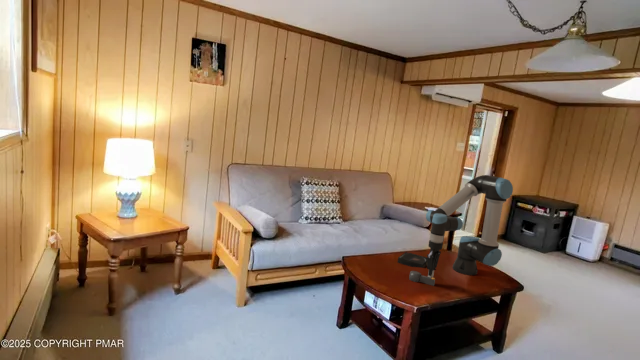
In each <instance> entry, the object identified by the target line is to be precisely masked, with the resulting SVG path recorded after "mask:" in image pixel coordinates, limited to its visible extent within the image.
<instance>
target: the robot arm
mask: <svg viewBox="0 0 640 360" xmlns="http://www.w3.org/2000/svg"><path fill="white" fill-rule="evenodd" d="M513 190H514V187H513V184H512V182H511V181H510V180H509V179H508V178H503V177H499V176H495V175H489V174H483V175H482V174H481V175H479V176H476V177H474V178H473V179H470V180H469V181H467V182H466V183H465V184H464V187H463V188H461V189H460V190H459V191H458V192H457V193H455V194H454V195H452V196H451V197H450V198H449V199H447V200H446V201H445V202H444V203H442V205H440V206H439V207H437V208H436V209H435V210H433V209H430V210H428V211H427V212H426V214H425V219H426V221H427V222H429V223H431V227H430V233H429V241H428V247H429V248H430V250H429V254H426V256H427V266H426V268H427V270H428V272H427V277H430V278H432V277H434V274H435V271H437V267H438V263H439V259H440V256H441V253H442V251H440V250H442V249H443V246H444V241H445V234H446V232H447V231H449V232H450V231H451V232H452V231H453V232H455V231H460V230H462V228H463V227H464V221H463V220H462V218H460V217H458V216H457V217H456V216H454V217H453V216H451V215H452V214H453V213H455V212H456V211H457V210H459V208H461V207H462V206H464V204H465V203H467V202H468V201H469V200H471V199H472V198H473V197H477V196H479V195H481V194H484V195H485V196H484V198H485V200H486V208H485V213H484V220H483V227H482V233H481V238H479V237H476V236H470V235H469V236H468V235H464V236H461V237H460V240H459V244H458V248H457V249H458V251H457V254H456V255H457V257H456V259H455V260H454V263H453V264H452V266H451V268H452V270H453V271H455V272H456V273H459V274H464V275H467V276H475V275H477V274H478V266H477V261H478V262H479V263H482V264H483V265H487V266H489V267H493V266H496V265H497V264H498V263H500V261H501V258H502V257H503V252H502V250H501V249H500V248H499V247H500V244H499V243H498V242H497V241H498V237H499V236H498V235H499V230H500V223H501V219H502V218H501V217H502V212H503V206H504V203H505V202H507V199H510V198H511V197H512V195H513V192H514V191H513Z"/></svg>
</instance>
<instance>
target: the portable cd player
mask: <svg viewBox="0 0 640 360" xmlns="http://www.w3.org/2000/svg"><path fill="white" fill-rule="evenodd" d="M396 263H398V264H400V265H404V266H407V267H411V268H422V269H423V268H424V269H425V268H427V257H426V256H424V255H423V256H422V255H419V254H416V253H412V252H409V251H405V252H404V253H402V254H401V255H400V256H398V257H397V262H396Z"/></svg>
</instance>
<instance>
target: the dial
mask: <svg viewBox="0 0 640 360" xmlns="http://www.w3.org/2000/svg"><path fill="white" fill-rule="evenodd" d="M408 276H409V278H408V280H409V281H410V282H414V283H421V284H422V283H423V284H425V285H429V286H433V287H434V286H435V285H436V284H435V283H436V277H434V276H433V277H432V278H430V277H428V275H422V273H421V272H419V271H416V270H411V271H410V272H409V275H408Z"/></svg>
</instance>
